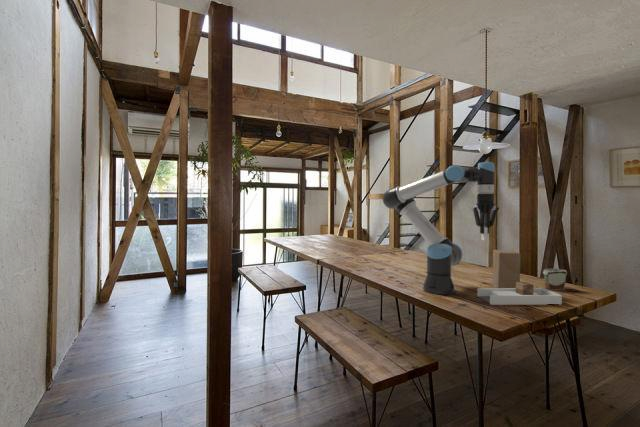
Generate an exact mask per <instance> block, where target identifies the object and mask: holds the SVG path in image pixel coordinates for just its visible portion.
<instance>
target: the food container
mask: <svg viewBox="0 0 640 427" xmlns="http://www.w3.org/2000/svg"><path fill="white" fill-rule="evenodd" d="M542 274H543V275H544V285H545V286H544V287H545V288H544V289H546V290H549V291H557V290H559V291H561V290H565V288H566V281H567V280H566V278H567V275H568V272H567V270H566V269H561V268H544V269H543V271H542Z"/></svg>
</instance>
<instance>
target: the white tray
mask: <svg viewBox="0 0 640 427" xmlns="http://www.w3.org/2000/svg"><path fill="white" fill-rule="evenodd" d="M476 290H477V291H476V292H477V294H476V296H477V298H479V299H481V300H483V301H484V302H485V303H488V304H489V305H490V306H491V305H493V306H497V305H498V306H499V305H502V306H505V305H506V306H509V305H510V306H511V305H513V306H514V305H517V306H519V305H522V306H525V305H528V306H529V305H533V306H534V305H542V306H544V305H547V304H559V305H562V303H563V296H562V295H561V294H559V293H556V292H553V291H552V290H547V289H545V288H543V287H540V288H539V287H537V288H536V287H534V289H533V295H520V294H518V293H516V288H494V287H493V288H492V287H491V288H490V287H488V288H487V287H480V288H479V287H478V288H477V289H476Z"/></svg>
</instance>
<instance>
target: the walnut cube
mask: <svg viewBox="0 0 640 427" xmlns="http://www.w3.org/2000/svg"><path fill="white" fill-rule="evenodd" d="M534 288H535V287H534V284H532V283H530V282H527V281H520V282H516V293H518V294H520V295H533V289H534Z"/></svg>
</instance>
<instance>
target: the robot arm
mask: <svg viewBox="0 0 640 427" xmlns="http://www.w3.org/2000/svg"><path fill="white" fill-rule="evenodd" d="M495 174H496V171H495V163H494V162H492V161H486V162H485V161H484V162H478V164H477V166H476V167H475V166H474V167H464V166H461V165H458V164H456V165H450V166H448V168H447V169H444V170H442V171H438V172H436V173H434V174H431V175H429V176H426V177H424V178H421V179H418V180H416V181H413V182H411V183H408V184H405V185H403V186H399V185H397V186H395V187H393V188H392V187H391V188H390V189H388V190H386V191H385V192H384V193H383V195H382V203H383V204H384V205H385V207H386V208H388V209H391V210H396V212H398V214H399V215H400V216H404V217H405V218H406V220H408V221H409V222H410V224H411V225H412V226H413V227H414V229H415V230H416V231H417V232H418V233H419V235H420V236H421V237H422V238H423V239H424V240H425V241H426V243H427V244H428V247H427V250H426V277H425V279H424V281H423V284H422V289H423V290H424V292H426V293H430V294H433V295H443V296H444V295H445V296H446V295H452V294H454V293H455V285H454V281H453V278H452V267H455V266H457V265H458V264H459V263H460V262H461V261H462V259H463V251H462V248H461V247H460V246H459V245H458V244H457V243H453V242H452V241H451V240H450V239H449V237H444V236H443V235H442V234H441V233H440V231H439V230H438V229H437V228H436V227H435V226H434V225H433V223H431V222H430V220H429V219H428V218H427V217H426V215H424V213H423V212H422V211H421V210H420V209H419V208H418V206H417V201H416V200H415V197H418V196H420V195H423V194H425V193H429V192H431V191H435V190H438V189H440V188H443V187H445V186H446V187H447V186H448V185H451V184H454V183H460V184H461V183H476V182H477V187H476V189H477V194H476V195H477V196H476V201H477V202H476V204H475V205H474V206H473V207H471V210H472V212H473V214H474V215H473V216H474V221H475V224H476V226H478V227H479V228H480V229H479V233H480V234H481V237H480V238H481V241H488V234H489V233H490V228H491V227H493V226H494V223H495V220H496V217H497V216H496V215H497V213H498V210H499V209H500V208H499V207H498V206H496V205H495V203H494V200H495V194H494V193H495V178H496V177H495V176H496V175H495Z"/></svg>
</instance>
